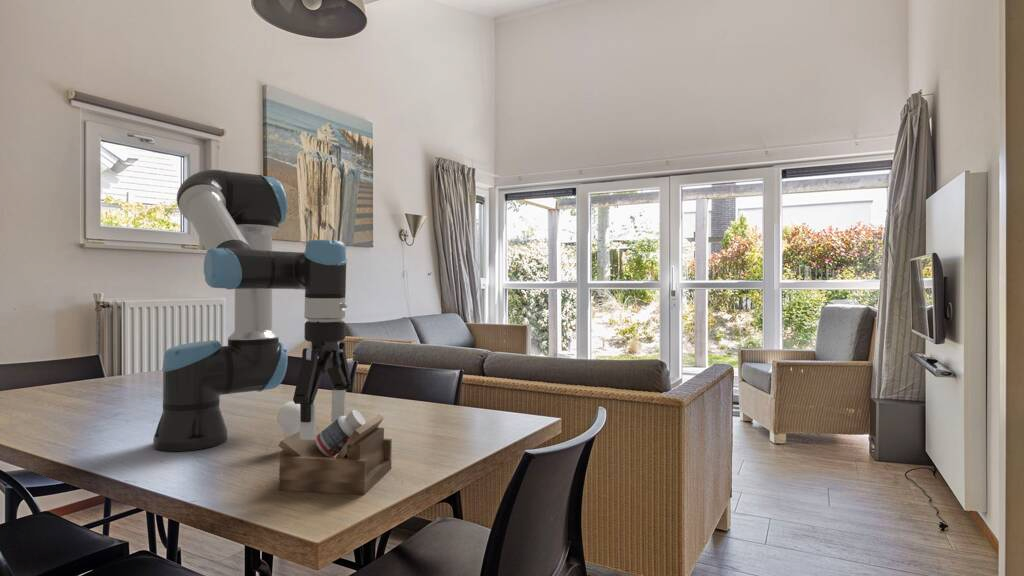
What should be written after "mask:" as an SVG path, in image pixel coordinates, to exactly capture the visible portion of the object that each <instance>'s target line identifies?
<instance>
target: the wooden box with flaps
mask: <svg viewBox="0 0 1024 576" xmlns="http://www.w3.org/2000/svg"><path fill="white" fill-rule="evenodd" d="M384 419H385V417H384V416H382V415H381V413H379V414H378V415H376V416H374V417H372V418H371V419H370V420H368V421H367V422H366V423H365V424H364V425H362V426H360V427H359V428H357V429H356V430H355V431H354V432H353V434H352V435H351V436H350V438H349V439H348V441H347V442H346V444H345V445H344V446H343V448H342V449H341V451H340V452H339V453H338V454H336V455H335V456H334V457H328V456H326V455H324V454H323V453H322V452H321V451H320V449H319V448H318V446H317V444H316V442H315V440H300V431H299V432H297V433H295V434H293V435H291V436H289V437H287V438H285V437H284V438H283V439H282V440H280V442H279V444H278V445H277V446H278V448H280V449H282V450H281V451H280V452H279V467H278V468H279V475H278V476H279V477H278V479H279V482H278V483H279V486H278V490H279V491H290V492H306V493H324V494H325V493H326V494H327V493H328V494H344V495H345V494H346V495H347V494H349V495H362V496H363V495H366V494H367V493H368V492H369V491H370V490H371V489H372V488H373V487H374V486H375V485H376V484H377V483H378V482H379V481H380V480H382V478H383V477H384V476H386V474H387V473H389V472H390V470H391V469H392V450H393V449H392V444H393V442H392V441H393V440H392V438H385V427H379V426H380V424H381V423H382V422H383V420H384ZM322 431H323V430H322V429H321V428H320V427H318V426H317V425H316V436H317V435H318V434H319V433H321V432H322Z"/></svg>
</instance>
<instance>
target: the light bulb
mask: <svg viewBox="0 0 1024 576" xmlns="http://www.w3.org/2000/svg"><path fill="white" fill-rule="evenodd" d="M277 422H278V424H279V426H280V428H281V429H282V432H283V433H284V439H285V438H287V437H289V436H291V435H293V434H295V433H297V432H299V431H300V404H295V403H294V401H293V400H290V401H288V402H285V403H283V405H282V406H281V407H280V408H279V410H278V412H277Z"/></svg>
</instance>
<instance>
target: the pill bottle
mask: <svg viewBox="0 0 1024 576" xmlns="http://www.w3.org/2000/svg"><path fill="white" fill-rule="evenodd" d="M365 423H367V422H366V419H365V417H364V416H363V415H362V414H361V412H359V411H358V410H356V409H352V410H351V411H349V412H348V414H346V416H341V417H339V418H338V419H336V420H335V421H334V422H331V424H329V425H328V426H327V427H325V429H323V430H322V432H321V433H319V434H318V435H317V436H316V439H315V442H316V444H317V446H318V448H319V449H320V451H321V452H322V453H323V454H324V455H326V456H328V457H334V456H335V455H336V454H338V453H339V452H340V451H341V449H342V448H343V446H344V445H345V444H346V442H347V441H348V439H349V438H350V436H351V435H352V434H353V432H354V431H355V430H356V429H357V428H359V427H360V426H362V425H364V424H365Z"/></svg>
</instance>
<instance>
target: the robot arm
mask: <svg viewBox="0 0 1024 576" xmlns="http://www.w3.org/2000/svg"><path fill="white" fill-rule="evenodd" d="M176 203H177V207H178V209H179V212H180V213H181V215H182V216H183V218H185V220H187V221H188V222H191V223H192V226H193V228H194V230H195V231H196V233H197V235H198V237H199V239H200V241H201V243H202V245H203V247H204V248H205V250H206V254H205V255H204V260H203V275H204V281H205V283H206V284H207V285H208V286H209V287H210V288H212V289H213V288H214V289H225V290H234V331H233V332H232V333H231V335H229V336H228V337H227V345H224V346H223V345H222V344H221V343H220V341H219V340H205V341H203V340H201V341H194V342H188V343H183V344H178V345H174V346H171V347H170V348H168V349H166V350H165V352H164V354H163V360H162V361H163V362H162V367H161V369H162V370H161V371H162V413H161V416H160V418H159V421H158V423H157V427H156V429H155V430H156V431H155V433H154V435H153V447H152V448H154V449H155V450H156V451H162V452H163V451H164V452H187V451H195V450H202V449H207V448H212V447H215V446H219V445H221V444H223V443H225V442H226V441H228V428H227V426H226V423H225V420H224V417H223V413H222V411H221V408H220V402H221V401H220V400H221V399H220V398H221V396H222V395H232V394H239V393H251V392H262V391H266V390H267V391H268V390H272V389H276V388H278V387H279V386H280V385H281V383H282V382H283V380H284V378H285V376H286V373H287V368H288V357H289V356H288V353H287V352H288V351H287V347H286V345H285V344H284V343H282V342H281V341H279V335H278V334H277V333H275V332H274V331H273V290H274V289H275V290H276V289H277V290H302V291H303V290H304V313H303V314H304V318H305V319H306V320H307V321H305V323H304V340H305V341H307V342H311V347H310V348H306V347H305V348H302V354H301V355H302V356H301V363H300V367H299V372H298V377H297V381H296V385H295V390H294V394H293V398H292V399H293V400H292V401H294V403H295V404H300V440H315V439H316V426H317V403H315V399H316V396H317V393H318V391H319V388H320V384H321V381H322V378H323V375H324V374H325V373H328V376H329V379H330V382H331V384H332V387H333V388H334V389H332V390H331V423H333V422H334V421H335V420H336V419H338V418H339V417H341V416H346V417H347V390H351V389H352V380H351V374H350V370H349V364H348V361H347V359H348V358H347V354H346V342H343V341H344V340H345V339H346V322H345V321H344V320H343V319H345V318H346V308H348V303H346V295H347V294H346V291H347V290H346V287H347V283H346V282H347V262H348V260H347V259H348V258H347V253H346V251H347V250H346V244H345V243H344V242H343V241H341V240H331V239H311V240H308V241H306V243H305V249H304V252H300V251H277V250H273V236H274V234H275V233H276V232H278V231H279V225H280V224H283V223H284V222H285V221H286V218H287V213H288V198H287V194H286V190H285V188H284V186H283V184H282V183H281V181H280V180H279V179H277V178H275V177H270V176H265V175H262V174H252V173H245V172H235V171H227V170H221V169H206V170H201V171H199V172H196V173H193V174H192V175H190V176H189V177H188V178H186V179H185V180H184V181H183V182H182V183H181V185H180V186H179V187H178V191H177V194H176Z"/></svg>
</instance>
